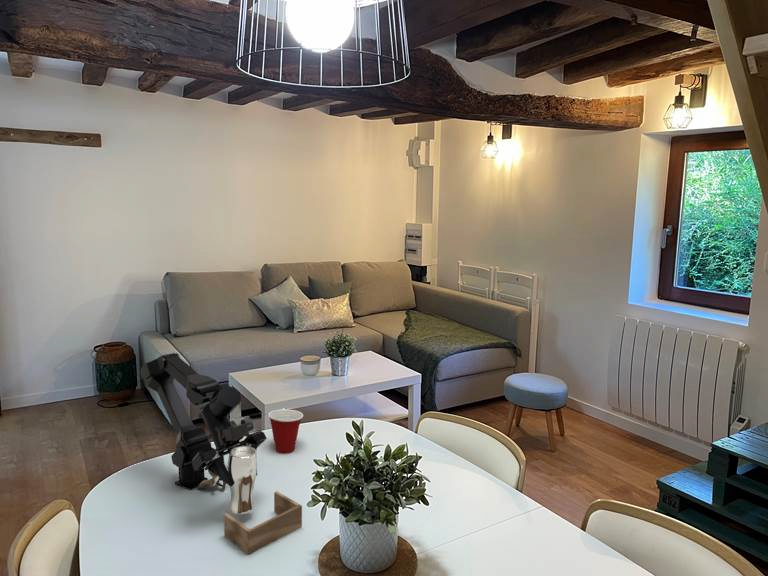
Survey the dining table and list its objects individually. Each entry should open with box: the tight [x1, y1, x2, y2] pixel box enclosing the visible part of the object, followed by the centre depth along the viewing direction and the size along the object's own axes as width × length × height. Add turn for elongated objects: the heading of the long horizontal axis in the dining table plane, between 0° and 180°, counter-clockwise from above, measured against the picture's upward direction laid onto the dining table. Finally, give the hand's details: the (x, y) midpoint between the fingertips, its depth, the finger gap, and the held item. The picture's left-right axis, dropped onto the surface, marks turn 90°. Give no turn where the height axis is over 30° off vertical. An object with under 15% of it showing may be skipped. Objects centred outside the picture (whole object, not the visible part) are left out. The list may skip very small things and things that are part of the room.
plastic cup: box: [267, 408, 304, 454], centre depth 182 cm, size 11×11×12 cm
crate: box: [223, 490, 303, 555], centre depth 139 cm, size 10×15×6 cm, turn 138°
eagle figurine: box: [195, 470, 228, 492], centre depth 158 cm, size 8×7×9 cm
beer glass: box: [227, 446, 258, 516], centre depth 143 cm, size 7×7×15 cm
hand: (244, 480), depth 143 cm, fingers closed on beer glass, 7 cm apart
